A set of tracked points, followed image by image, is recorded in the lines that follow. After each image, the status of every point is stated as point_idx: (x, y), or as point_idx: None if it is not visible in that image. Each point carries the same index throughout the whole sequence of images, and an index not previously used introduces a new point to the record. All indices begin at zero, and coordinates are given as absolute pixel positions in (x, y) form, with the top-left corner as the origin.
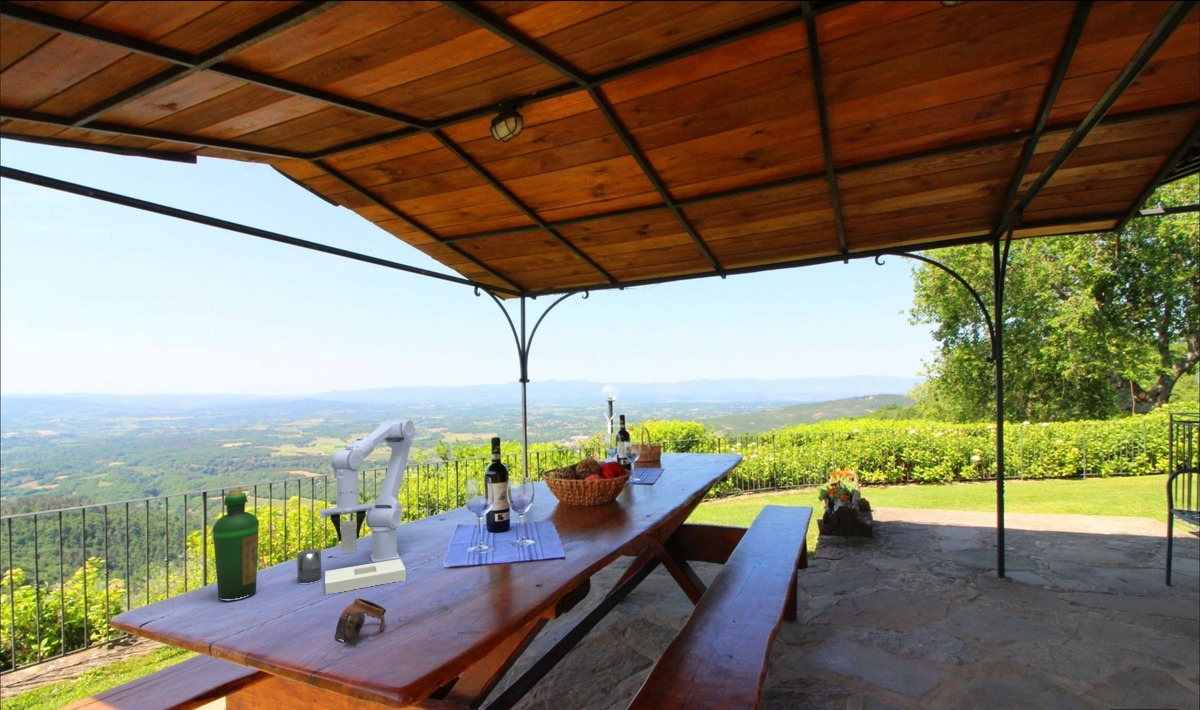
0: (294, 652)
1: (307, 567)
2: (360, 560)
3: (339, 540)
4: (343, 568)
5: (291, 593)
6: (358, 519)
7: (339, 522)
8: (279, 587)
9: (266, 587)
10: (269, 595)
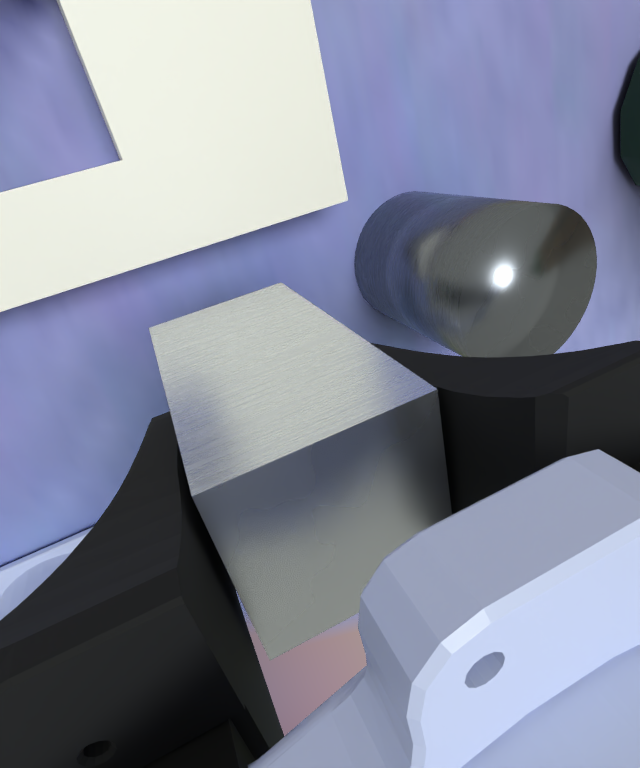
0: None
1: (472, 197)
2: None
3: None
4: (228, 227)
5: (466, 22)
6: (146, 552)
7: (490, 390)
8: (529, 187)
9: (576, 211)
10: (561, 44)
